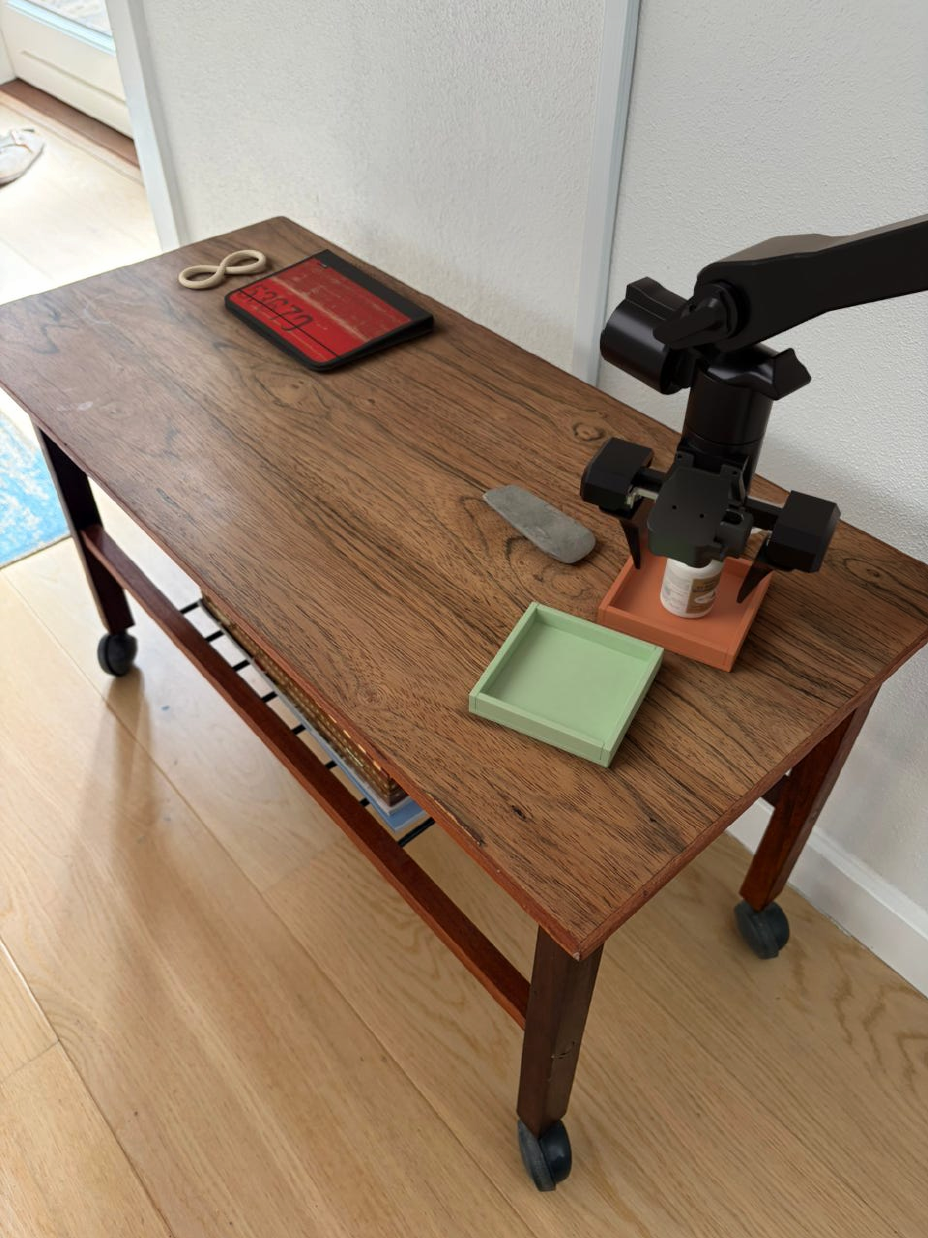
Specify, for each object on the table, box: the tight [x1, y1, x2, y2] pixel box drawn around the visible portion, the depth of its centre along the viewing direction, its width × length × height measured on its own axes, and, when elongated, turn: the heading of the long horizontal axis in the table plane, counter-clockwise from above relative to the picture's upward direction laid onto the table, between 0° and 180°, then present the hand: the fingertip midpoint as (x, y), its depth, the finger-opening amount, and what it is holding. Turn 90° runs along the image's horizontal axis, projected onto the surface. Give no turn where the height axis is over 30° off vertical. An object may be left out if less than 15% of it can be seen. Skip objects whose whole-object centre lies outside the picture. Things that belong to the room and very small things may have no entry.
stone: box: [482, 484, 596, 564], centre depth 91 cm, size 12×2×5 cm
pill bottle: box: [660, 558, 725, 618], centre depth 82 cm, size 4×4×8 cm
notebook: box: [223, 248, 435, 372], centre depth 117 cm, size 16×2×21 cm
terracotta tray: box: [596, 550, 774, 673], centre depth 84 cm, size 11×11×2 cm
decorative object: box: [178, 249, 267, 290], centre depth 125 cm, size 11×1×5 cm
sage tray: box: [468, 600, 665, 769], centre depth 78 cm, size 11×11×2 cm
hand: (689, 582), depth 83 cm, fingers open, 8 cm apart
